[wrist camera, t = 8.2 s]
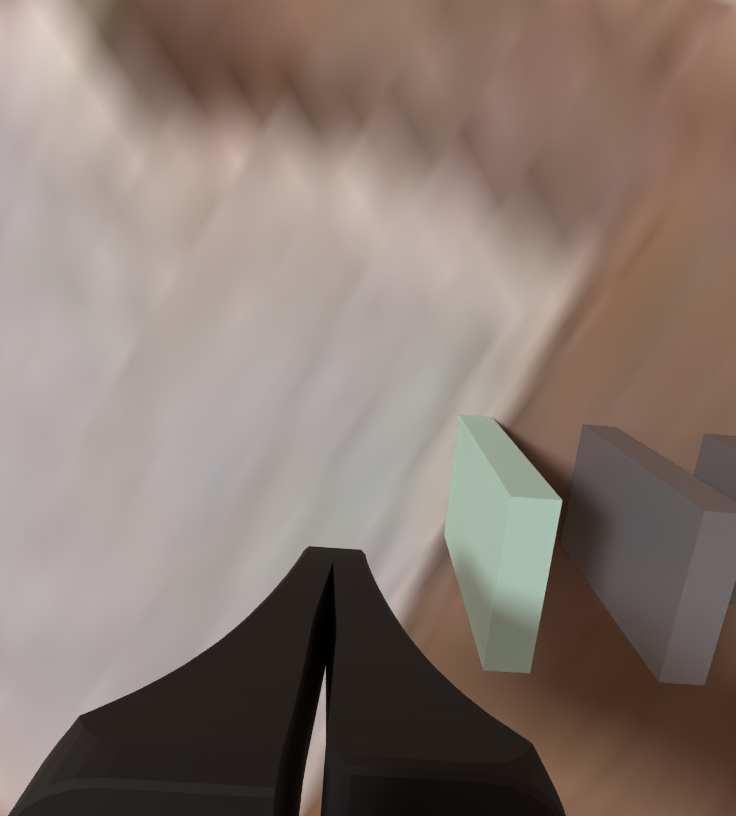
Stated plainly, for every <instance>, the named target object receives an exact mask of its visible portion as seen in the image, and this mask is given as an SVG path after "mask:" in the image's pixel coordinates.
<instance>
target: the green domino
mask: <svg viewBox="0 0 736 816" xmlns="http://www.w3.org/2000/svg"><path fill="white" fill-rule="evenodd" d="M561 505H562V499H561V498H560V497H559V496H558V494H557V493H556V492H555V491H554V490H553V489H552V487H551V486H550V485H549V484H548V483H547V481H546V480H545V479H544V478H543V477H542V476H541V474H540V473H539V472H538V471H537V470H536V468H535V467H534V466H533V465H532V464H531V463H530V461H529V460H528V459H527V458H526V457H525V455H524V454H523V453H522V452H521V451H520V450H519V448H518V447H517V446H516V445H515V444H514V442H513V441H512V440H511V439H510V438H509V437H508V435H507V434H506V433H505V432H504V431H503V430H502V428H501V427H500V426H499V425H498V424H497V422H496V421H495V420H494V419H493V418H492V417H483V416H469V415H459V420H458V428H457V436H456V444H455V452H454V460H453V468H452V476H451V484H450V491H449V499H448V507H447V515H446V523H445V531H444V536H445V539H446V543H447V546H448V550H449V553H450V557H451V560H452V563H453V567H454V570H455V574H456V577H457V581H458V584H459V588H460V591H461V595H462V598H463V602H464V605H465V609H466V612H467V616H468V619H469V623H470V626H471V630H472V633H473V637H474V640H475V644H476V647H477V651H478V654H479V658H480V661H481V664H482V668H483V670H484V671H500V672H515V673H530V671H531V666H532V660H533V655H534V650H535V644H536V639H537V634H538V628H539V623H540V618H541V612H542V607H543V602H544V596H545V591H546V586H547V580H548V575H549V570H550V564H551V559H552V554H553V548H554V543H555V538H556V532H557V527H558V522H559V516H560V511H561Z"/></svg>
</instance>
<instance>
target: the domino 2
mask: <svg viewBox="0 0 736 816" xmlns="http://www.w3.org/2000/svg"><path fill="white" fill-rule="evenodd" d="M694 477H696V478H697V479H699V480H701V481H702V482H704V483H705V484H707V485H709V486H710V487H712V488H713V489H715V490H717V491H718V492H720V493H721V494H723V495H725V496H726V497H728V498H729V499H731V500H733V501H734V502H736V436H727V435H714V434H704V438H703V442H702V446H701V450H700V454H699V458H698V461H697V465H696V469H695V473H694ZM730 603H732V604H733V605H734V606H735V607H736V581H735V585H734V588H733V591H732V595H731V598H730Z"/></svg>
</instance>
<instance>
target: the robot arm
mask: <svg viewBox="0 0 736 816" xmlns="http://www.w3.org/2000/svg"><path fill="white" fill-rule="evenodd" d="M325 666H326V751H325V765H324V778H323V792H322V806H321V816H566V815H565V812H564V809H563V806H562V804H561V801H560V799H559V796H558V794H557V792H556V789H555V787H554V785H553V783H552V781H551V779H550V777H549V775H548V773H547V771H546V769H545V767H544V765H543V763H542V761H541V759H540V757H539V755H538V753H537V752H536V750H535V748H534V746H533V744H532V743H531V742H529V741H528V740H526V739H525V738H523V737H522V736H520V735H519V734H517V733H516V732H515V731H513V730H512V729H510V728H509V727H507V726H506V725H504V724H503V723H501V722H500V721H498V720H497V719H495V718H494V717H492V716H491V715H489V714H488V713H487V712H485V711H484V710H483V709H482V708H480V707H479V706H478V705H477V704H475V703H474V702H473V701H472V700H470V699H469V698H468V697H467V696H465V695H464V694H463V693H462V692H461V691H460V690H458V689H457V688H456V687H455V686H454V685H453V684H452V683H451V682H450V681H449V680H448V679H447V678H446V677H445V676H443V675H442V674H441V673H440V672H439V671H438V670H437V669H436V668H435V667H434V666H433V665H432V664H431V662H430V661H429V660H428V659H427V658H426V657H425V656H424V655H423V653H422V652H421V651H420V650H419V649H418V647H417V646H416V645H415V644H414V642H413V641H412V640H411V639H410V637H409V636H408V635H407V633H406V632H405V630H404V629H403V628H402V626H401V625H400V623H399V622H398V620H397V619H396V617H395V616H394V614H393V612H392V611H391V609H390V608H389V606H388V604H387V602H386V601H385V599H384V597H383V595H382V593H381V592H380V590H379V588H378V586H377V584H376V582H375V580H374V577H373V575H372V573H371V571H370V568H369V566H368V563H367V560H366V556H365V554H364V553H363V552H362V550H355V549H340V548H326V547H311V546H309V547H308V548H306V549H305V550H304V551H303V553H302V555H301V556H300V558H299V559H298V561H297V562H296V563H295V565H294V566H293V567H292V569H291V570H290V571H289V573H288V574H287V575H286V576H285V578H284V579H283V580H282V581H281V582H280V583H279V585H278V586H277V587H276V588H275V589H274V590H273V592H272V593H271V594H270V595H269V596H268V597H267V598H266V599H265V600H264V601H263V602H262V603H261V604H260V605H259V606H258V607H257V608H256V609H255V610H254V611H253V612H252V613H251V614H250V615H249V616H248V617H247V618H246V619H245V620H244V621H243V622H241V623H240V624H239V625H238V626H237V627H236V628H235V629H233V630H232V631H231V632H230V633H228V634H227V635H226V636H225V637H224V638H222V639H221V640H220V641H218V642H217V643H216V644H214V645H213V646H212V647H210V648H209V649H207V650H206V651H204V652H203V653H201V654H200V655H198V656H197V657H195V658H194V659H192V660H191V661H190V662H188V663H186V664H185V665H183V666H182V667H180V668H178V669H176V670H175V671H173V672H171V673H169V674H168V675H166V676H164V677H162V678H160V679H159V680H157V681H155V682H153V683H151V684H149V685H147V686H145V687H143V688H141V689H139V690H137V691H135V692H133V693H131V694H129V695H127V696H124V697H122V698H120V699H118V700H115V701H113V702H111V703H109V704H106V705H104V706H102V707H99V708H97V709H95V710H93V711H90V712H88V713H85V714H83V715H80V716H79V717H78V718H77V720H76V721H75V722H74V724H73V725H72V726H71V728H70V729H69V730H68V731H67V732H66V734H65V735H64V736H63V737H62V738H61V740H60V741H59V742H58V743H57V745H56V746H55V747H54V749H53V750H52V751H51V753H50V754H49V755H48V757H47V758H46V759H45V761H44V762H43V764H42V765H41V767H40V768H39V770H38V771H37V773H36V774H35V776H34V777H33V779H32V780H31V782H30V783H29V785H28V786H27V788H26V789H25V791H24V792H23V794H22V795H21V797H20V798H19V800H18V802H17V803H16V805H15V806H14V808H13V809H12V811H11V812H10V814H9V815H8V816H299V811H300V802H301V793H302V785H303V778H304V772H305V766H306V760H307V755H308V750H309V745H310V740H311V735H312V730H313V726H314V721H315V716H316V711H317V706H318V701H319V696H320V691H321V686H322V681H323V676H324V671H325Z"/></svg>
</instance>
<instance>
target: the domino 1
mask: <svg viewBox="0 0 736 816" xmlns="http://www.w3.org/2000/svg"><path fill="white" fill-rule="evenodd" d="M560 544H561V545H562V547H563V548H564V550H565V551H566V552H567V554H568V555H569V557H570V558H571V559H572V561H573V562H574V564H575V565H576V567H577V568H578V569H579V571H580V572H581V574H582V575H583V576H584V578H585V579H586V581H587V582H588V584H589V585H590V586H591V588H592V589H593V591H594V592H595V593H596V595H597V596H598V598H599V599H600V601H601V602H602V603H603V605H604V606H605V608H606V609H607V610H608V612H609V613H610V615H611V616H612V618H613V619H614V620H615V622H616V623H617V625H618V626H619V627H620V629H621V630H622V632H623V633H624V634H625V636H626V637H627V639H628V640H629V642H630V643H631V644H632V646H633V647H634V649H635V650H636V651H637V653H638V654H639V656H640V657H641V659H642V660H643V661H644V663H645V664H646V666H647V667H648V668H649V670H650V671H651V673H652V674H653V676H654V677H655V678H656V680H657V681H658V682H659V683H674V684H689V685H704V686H705V683H706V679H707V676H708V672H709V669H710V666H711V662H712V659H713V656H714V652H715V649H716V645H717V642H718V639H719V635H720V632H721V629H722V625H723V622H724V618H725V615H726V612H727V608H728V605H729V602H730V598H731V595H732V591H733V588H734V585H735V581H736V502H734V501H733V500H731V499H729V498H728V497H726V496H725V495H723V494H721V493H720V492H718V491H717V490H715V489H713V488H712V487H710V486H709V485H707V484H705V483H704V482H702V481H701V480H699V479H697V478H696V477H694V476H693V475H691V474H689V473H688V472H686V471H685V470H683V469H681V468H680V467H678V466H677V465H675V464H674V463H672V462H670V461H669V460H667V459H666V458H664V457H662V456H661V455H659V454H658V453H656V452H654V451H653V450H651V449H650V448H648V447H646V446H645V445H643V444H642V443H640V442H638V441H637V440H635V439H634V438H632V437H630V436H629V435H627V434H626V433H624V432H622V431H621V430H619V429H618V428H616V427H608V426H595V425H583V426H582V431H581V436H580V442H579V447H578V452H577V457H576V462H575V468H574V473H573V478H572V483H571V488H570V493H569V499H568V504H567V509H566V514H565V519H564V525H563V530H562V535H561V540H560Z"/></svg>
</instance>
